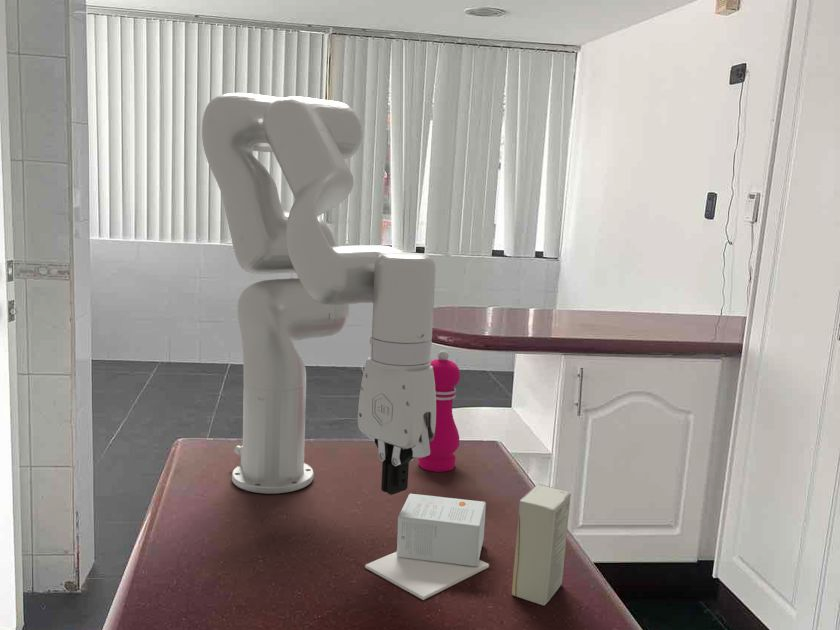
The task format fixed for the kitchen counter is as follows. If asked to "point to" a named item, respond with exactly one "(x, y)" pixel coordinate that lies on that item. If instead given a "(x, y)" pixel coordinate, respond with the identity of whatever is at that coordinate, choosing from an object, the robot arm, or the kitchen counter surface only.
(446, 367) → the pepper mill
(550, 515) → the skincare box
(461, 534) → the small box
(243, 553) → the kitchen counter surface
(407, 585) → the mat
